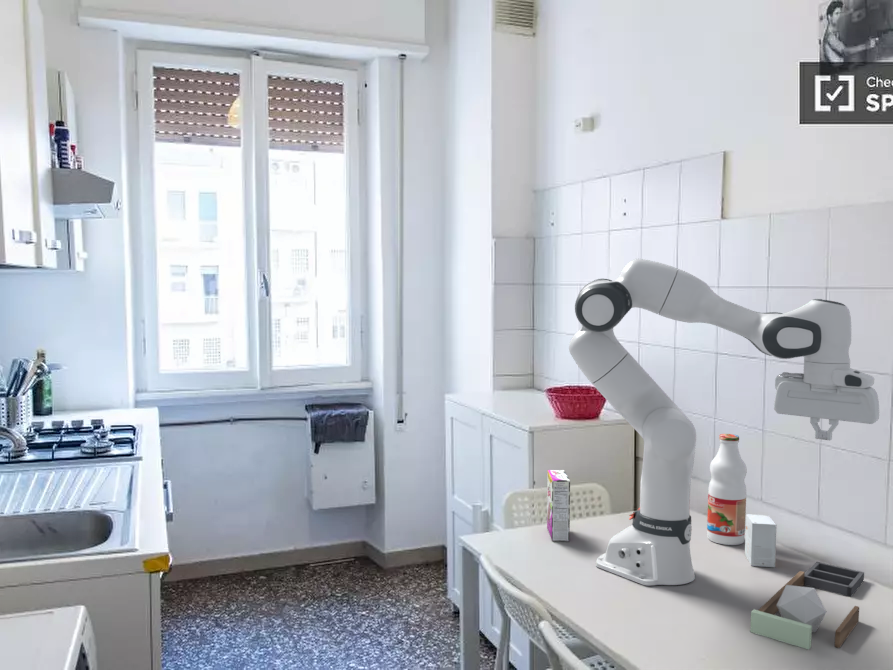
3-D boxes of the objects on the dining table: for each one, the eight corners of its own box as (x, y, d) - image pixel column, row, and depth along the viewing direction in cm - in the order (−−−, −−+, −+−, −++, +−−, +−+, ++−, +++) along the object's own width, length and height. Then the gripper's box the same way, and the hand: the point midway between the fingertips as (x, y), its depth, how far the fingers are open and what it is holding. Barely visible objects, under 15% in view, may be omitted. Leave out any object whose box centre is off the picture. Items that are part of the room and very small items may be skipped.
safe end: (750, 631, 144) (751, 611, 144) (752, 629, 145) (753, 609, 145) (808, 649, 137) (809, 628, 137) (810, 646, 138) (811, 625, 138)
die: (811, 645, 140) (840, 603, 141) (769, 614, 144) (797, 573, 145) (804, 642, 148) (831, 602, 149) (764, 613, 151) (790, 574, 152)
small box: (775, 568, 178) (777, 524, 177) (750, 566, 179) (752, 523, 178) (768, 556, 186) (769, 515, 185) (744, 554, 187) (745, 513, 186)
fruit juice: (751, 545, 194) (755, 438, 192) (718, 546, 192) (721, 439, 190) (732, 533, 203) (736, 431, 201) (700, 534, 201) (703, 432, 200)
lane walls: (751, 631, 144) (751, 616, 144) (799, 583, 168) (799, 570, 168) (833, 655, 135) (834, 639, 135) (872, 602, 159) (873, 588, 159)
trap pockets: (801, 584, 168) (802, 575, 168) (816, 569, 177) (816, 561, 177) (851, 596, 161) (851, 587, 161) (863, 580, 170) (864, 572, 170)
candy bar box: (545, 528, 206) (546, 469, 205) (563, 528, 206) (565, 469, 205) (550, 541, 194) (552, 479, 193) (569, 542, 194) (571, 480, 193)
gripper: (770, 372, 164) (768, 434, 165) (876, 380, 151) (873, 448, 152) (779, 370, 169) (777, 430, 170) (882, 378, 156) (879, 443, 156)
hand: (823, 439), depth 161 cm, fingers closed
